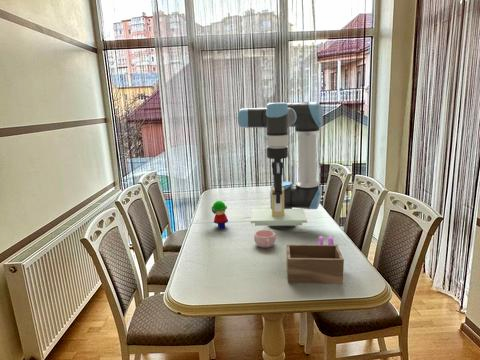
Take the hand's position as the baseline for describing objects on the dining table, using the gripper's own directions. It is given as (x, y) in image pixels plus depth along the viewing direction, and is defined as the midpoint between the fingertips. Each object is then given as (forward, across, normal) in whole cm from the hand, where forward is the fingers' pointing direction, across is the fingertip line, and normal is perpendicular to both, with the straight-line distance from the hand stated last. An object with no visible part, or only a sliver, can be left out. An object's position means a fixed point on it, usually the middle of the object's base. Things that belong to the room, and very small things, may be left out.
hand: (277, 208), depth 126 cm
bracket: (+27, -16, +22) cm, 38 cm away
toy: (+27, -50, -29) cm, 63 cm away
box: (+27, 0, +14) cm, 30 cm away
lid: (+5, 0, 0) cm, 5 cm away
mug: (+27, -26, -5) cm, 38 cm away
